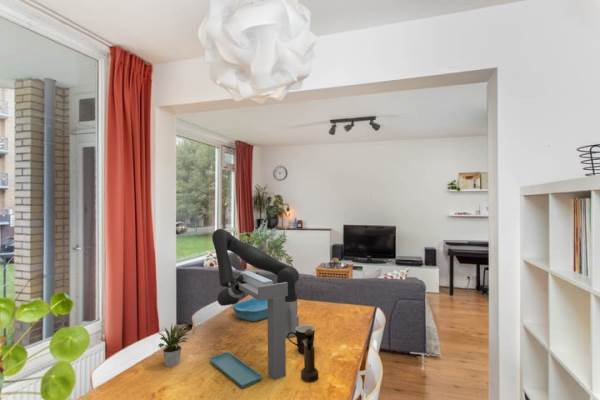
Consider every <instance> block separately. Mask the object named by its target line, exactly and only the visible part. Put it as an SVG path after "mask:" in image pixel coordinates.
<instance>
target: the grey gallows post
mask: <svg viewBox="0 0 600 400" xmlns="http://www.w3.org/2000/svg"><path fill="white" fill-rule="evenodd" d="M239 289H240V290H242V291H243V292H245V293H244V294H247V295H248V296H250V297H252V298H255V299H257V300H259V301H262V300H268V317H267V375H268V376H269V377H270V378H271V379H272V380H274V381H275V380H278V379H281V378H285V377H286V376H287V373H286V372H287V370H286V369H287V368H286V367H287V365H286V361H287V360H286V359H287V357H286V355H287V354H286V353H287V352H286V337H285V296H288V283H287V282H284V283H277V282H276V283H273V284H271V285H264V286H258V288H257V287H255V286H253V285H251V284H249V283H246V284H239Z"/></svg>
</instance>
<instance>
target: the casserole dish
mask: <svg viewBox="0 0 600 400" xmlns="http://www.w3.org/2000/svg"><path fill="white" fill-rule="evenodd" d="M232 308H233V311H234V315H235V316H236V317H238V318H240V319H243V320H246V321H248V322H249V321H250V322H256V321H260V320H264V319H266V318H267V319H268V300H262V301H259V300H257V299H255V298H254V297H252V298H249V299H245V300H243V301H238V302H237V303H236V304H232Z"/></svg>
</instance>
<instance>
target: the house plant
mask: <svg viewBox="0 0 600 400" xmlns="http://www.w3.org/2000/svg"><path fill="white" fill-rule="evenodd" d="M177 326H178V327H177ZM180 327H181V325H178V323H177V322H176V323H175V324H174V326H173V324H171V325H170V332H169V330H168V329H167V328H166V327H165V326H164V327H163V328H164V329H161V330H162V331H165V333H166V335H165V334H164V333H163V332H162V331H161V330H159V331H158V332H157V334H158V335H160V336H161V337H160V340H162V341H164V342H165V343H166V344H164V343H162V342H161V343H158V346H157V347H158V348H162V347H164V348H163V349H162V354H163V359H164V364H165V367H166V368H173V367H176V366H178V365H179V363H180V358H181V354H182V353H181V351H182V346H181V345H180V344H181V343H188V341H189V338H187V337H184V336H188V335H189V333H185V332H186V330H184V329H185V328H187V327H188V325H186V326H184V327H183V328H182V329H181V330H180V331H179V332H178V330H179V329H180ZM177 332H178V333H177ZM176 333H177V334H176ZM187 340H188V341H187Z"/></svg>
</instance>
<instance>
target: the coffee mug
mask: <svg viewBox="0 0 600 400" xmlns="http://www.w3.org/2000/svg"><path fill="white" fill-rule="evenodd" d="M307 329H311V330H312V331H313V336H312V338H311V341H312V345H311V346H313V347H314V344H315V343H314V340H315V333H316V332H315V331H316V327H314V326H313V325H308V324H303V325H299V326H298V327H296V333H294V332H290V333H288V335H287V337H286V338H287V340H288V341H289V342H290V343H292V344H293V345H294V346H296V348H297V351H298V353H299V354H300V355H303V356H304V347H305V346H307V344H306V341H307V337H306V335H305V331H306V330H307ZM291 333H293V334H295V336H294V337H296V342H294V341H292V340H291V338H290V337H288V336H289V334H291Z"/></svg>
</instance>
